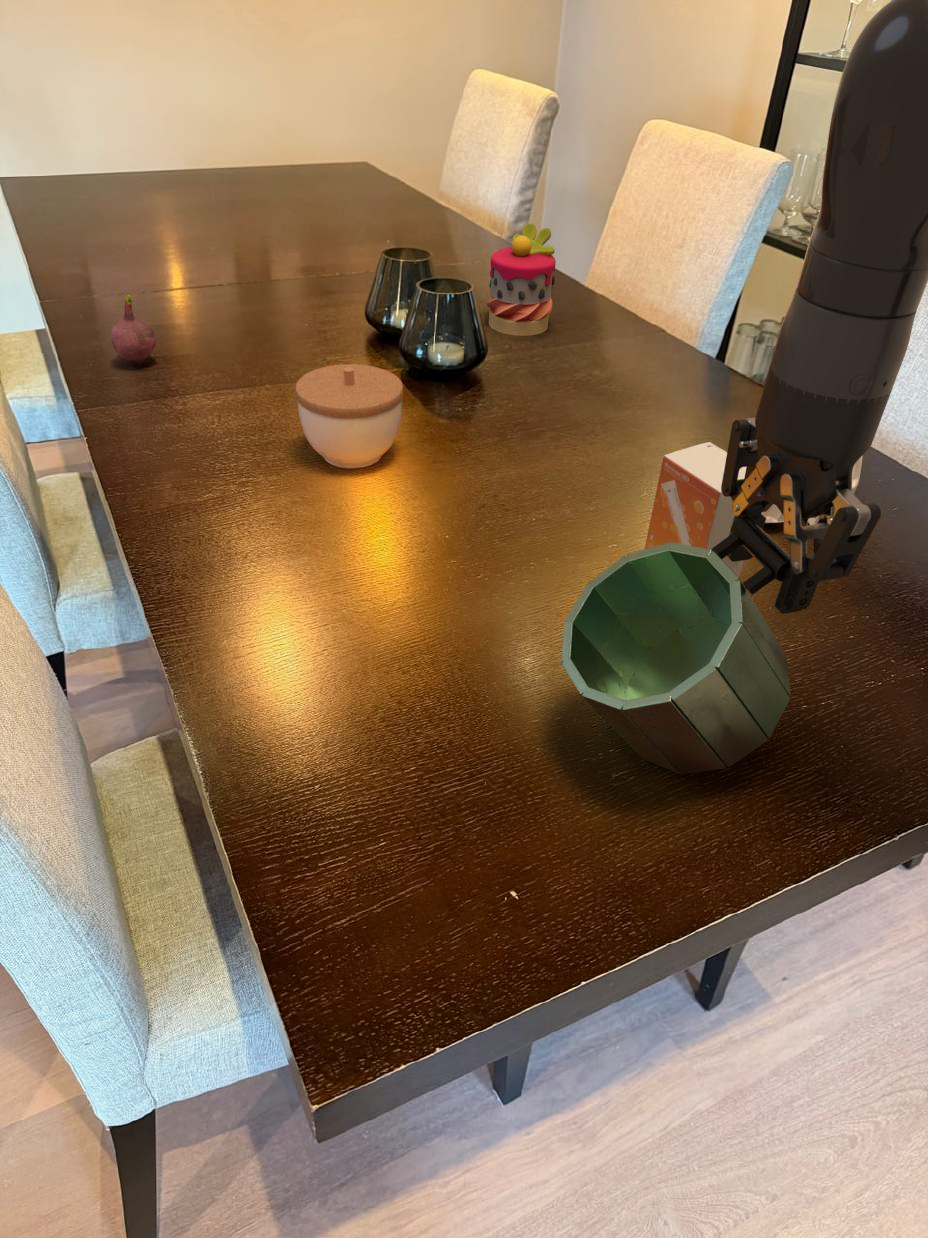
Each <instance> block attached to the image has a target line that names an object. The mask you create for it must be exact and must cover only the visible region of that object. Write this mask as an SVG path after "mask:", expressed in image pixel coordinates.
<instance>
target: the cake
mask: <svg viewBox="0 0 928 1238" xmlns="http://www.w3.org/2000/svg"><path fill="white" fill-rule="evenodd" d="M521 230H522V231H521V234H519V233H515V234H514V235H513V236H512V243H511V246H510V247H509V246H508V247H504V248H501V249H498V250H496V251H494V252H493V253H492V254H491V256H490V272H489V276H490V278H491V279H490V281H489V288H490V290H489V294H490V296H491V298H490V299H489V301H487V302H486V304H487V307H488V308H489V311H488V312H489V313H488V326H489V328H491V330H494V331H495V332H498V333H501V334H503V335H508V336H509V335H510V336H516V337H530V336H535V335H540V334H542V333H545V332H546V331H547V330H548V328H549V318H550V314H551V312H552V309H553V303H554V302H553V299H552V291H553V286H554V285H555V282H556V277H555V275H554V273H555V271H556V263H557V261H556V258H555V256H554V254H555V248H554V247H553V246H551V245H545V244H546V243H547V242H548V241H549V240H550V239H551V237H552V231H551V229H550V228H549V227H544V228H542V229H540V230H539V232H538V233H537V226H536V225H535V224H534V223H531V222H527V223H526V224H525V225H524V226H523V227H522V229H521Z"/></svg>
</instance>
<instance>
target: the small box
mask: <svg viewBox="0 0 928 1238" xmlns="http://www.w3.org/2000/svg"><path fill="white" fill-rule="evenodd" d="M726 457H727V451H726V450H724V449H722V448H721V447H719V446H717V445H715V444H713V443H712V442H710V441H708V442H704V443H699V444H696V445H692V446H689V447H686V448H682V449H679V450H676V451H673V452H670V453H667V454H664V455H663V457H662V461H661V468H660V471H659V477H658V482H657V485H656V490H655V491H656V492H655V496H654V500H653V505H652V510H651V515H650V521H649V526H648V529H647V534H646V535H647V536H646V539H645V544H644V549H648V548H651V547H655V546H659V545H662V544H666V543H670V544H671V543H672V542H673V543H678V544H683V545H688V546H693V547H699V548H704V549H709V550H711V549H712V548H713V547H715V546H716V545H717V544H719V543H720V542H721V541H723V540H724V539H725V538H727V537H728V536H729V535H730V530H731V526H732V523H733V520H734V516H735V515H734V514H733V512H732V503H733V501H732V499H731V497H730V496H729V497H725V496H724V495H723V494H722V491H721V485H722V480H723V474H724V468H725V463H726ZM745 472H746V467H742V468H741V469H740V470H739V474H738V479H744V478H745ZM738 479H737V480H738ZM722 560H723V561H724V562H725V563H726V565H727V566H728V567H729V568H730V569H731V570H732V571H733V572H734V573H735V574H736V575H737V576H738V577H739V578H740V576H741V573H742V570H743V566H744V562H745V560H743V561H736V562H732V561H731V560H730V559H729V558H728V557H727V556H726V557H724V558H723V559H722Z"/></svg>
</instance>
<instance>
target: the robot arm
mask: <svg viewBox="0 0 928 1238" xmlns="http://www.w3.org/2000/svg"><path fill="white" fill-rule="evenodd" d="M828 129H829V130H828V134H827V135H828V136H827V144H826V151H825V158H824V166H823V172H822V173H823V174H822V181H821V199H820V207H819V212H818V214H817V215H818V216H817V218H816V221H815V224H814V226H813V230H812V232H811V235H810V238H809V242H808V245H807V249H806V252H805V255H804V259H803V263H802V266H801V270H800V274H799V277H798V281H797V283H796V288H795V291H794V293H793V297H792V299H791V302H790V303H789V306H788V308H787V310H786V313H785V315H784V318H783V320H782V323H781V325H780V328H779V333H778V335H777V339H776V343H775V345H774V346H775V347H774V350H773V354H772V357H771V361H770V364H769V368H768V372H767V375H766V379H765V381H764V386H763V389H762V393H761V396H760V399H759V400H760V401H759V404H758V407H757V411H756V414H755V417H747V418H742V419H735V420H734V421H732V424H731V429H730V434H729V440H728V446H727V451H726V452H727V457H726V463H725V468H724V474H723V480H722V485H721V491H722V494H723V495H724V496H725V497H729V496H730V497H731V499H732V501H733V503H732V512H733V514H734V515H735V516H734V520H733V523H734V522H735V521H736V520H737V519H739V518H741V517H749V518H751V519H752V520H753V521H754V522H755V523H756V524H757V525H758V526H759V527H760V528H761V529H762V530H763V531H764V527H765V524H766V523H765V521H766V518H765V517H764V516H763V515H762V512H766V511H767V510H768V509H769V508H770V507H771V506H772V505H773V504H774V505H776V506H777V507H778V509H779V510H780V512H781V513H782V514H783V515H784V522H783V536H784V538H785V539H786V540H788V541H789V555H790V567H787V570H786V573H785V576H784V579H783V581H781V584H780V588H779V591H778V594H777V597H776V600H775V603H774V607H775V608H776V609H777V611H778V612H779V613H780V614H783V615H785V614H790V613H791V614H792V613H796V612H800V611H802V610H806V609H808V608H809V607H810V606H811V604H812V601H813V598H814V595H815V592H816V590H817V587H818V585H819V582H823V581H827V580H833V579H840V578H844V577H848V576H849V575H850V573H851V571H852V570H853V568H854V566H855V564H856V563H857V561H858V559H859V557H860V555H861V553H862V552H863V549H864V548H865V546H866V544H867V542H868V540H869V539H870V537H871V534H873V531H874V529H875V527H876V526H877V524H878V522H879V520H880V518H881V515H882V511H881V508H880V506H879V505H878V504H877V503H875V502H871V503H862V501H861V500H859V498H858V497H857V496H856V495H855V493H854V494H853V493H852V492H851V488H852V471H853V467H854V465H855V463H856V462H857V461H858V460H859V459H860V457H861V456H862V455H863V456H864V455H865V454H866V453H867V452H868V451H869V450H870V448H871V446H872V444H873V442H874V439H875V436H876V434H877V432H878V429H879V426H880V423H881V420H882V418H883V415H884V412H885V410H886V407H887V404H888V402H889V399H890V396H891V394H892V391H893V388H894V386H895V383H896V381H897V378H898V375H899V372H900V370H901V368H902V364H903V362H904V359H905V356H906V353H907V350H908V347H909V344H910V340H911V336H912V330H913V326H914V323H915V317H916V314H917V311H918V308H919V306H920V303H921V301H922V297H923V295H924V292H925V290H926V287H927V284H928V0H891V1H889V2H888V3H887V4H885V5H884V6H883V7H882V8H881V9H879V11H877V12H876V13H875V14H874V15H873V17H871V19H870V20H869V21H868V22H867V24H865V25H864V27H863V29H862V31H861V32H860V34H859V35H858V37H857V38H856V41H855V42H854V44H853V46H852V48H851V51H850V53H849V55H848V57H847V60H846V63H845V65H844V68H843V71H842V73H841V77H840V79H839V84H838V87H837V91H836V94H835V98H834V103H833V106H832V112H831V117H830V124H829V128H828ZM742 467H746V472H745V478H744V479H738V474H739V470H740V469H741V468H742ZM737 479H738V480H737ZM817 516H819V520H818V522H817V523H816V524H814V525H810V524H809V525H802V524H803V523H802V520H808V518H816V517H817ZM733 523H732V524H733ZM730 535H731V530H730ZM730 535H729V536H730ZM810 540H813V553H810V554H808V542H809V541H810ZM727 557H728V558H729V559H730V560H731V561H732V562H736V561H743V560H744V561H748V560H750V559H753V558H754V557H753V556H752V555H751V554H750V553H749V552H748V551H747V550H746V549H745V548H744V547H743V546H742V545H741V546H739V547H738V548H737V549H735V550H734V551H733V552H731V553H730V554H728V555H727Z"/></svg>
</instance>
